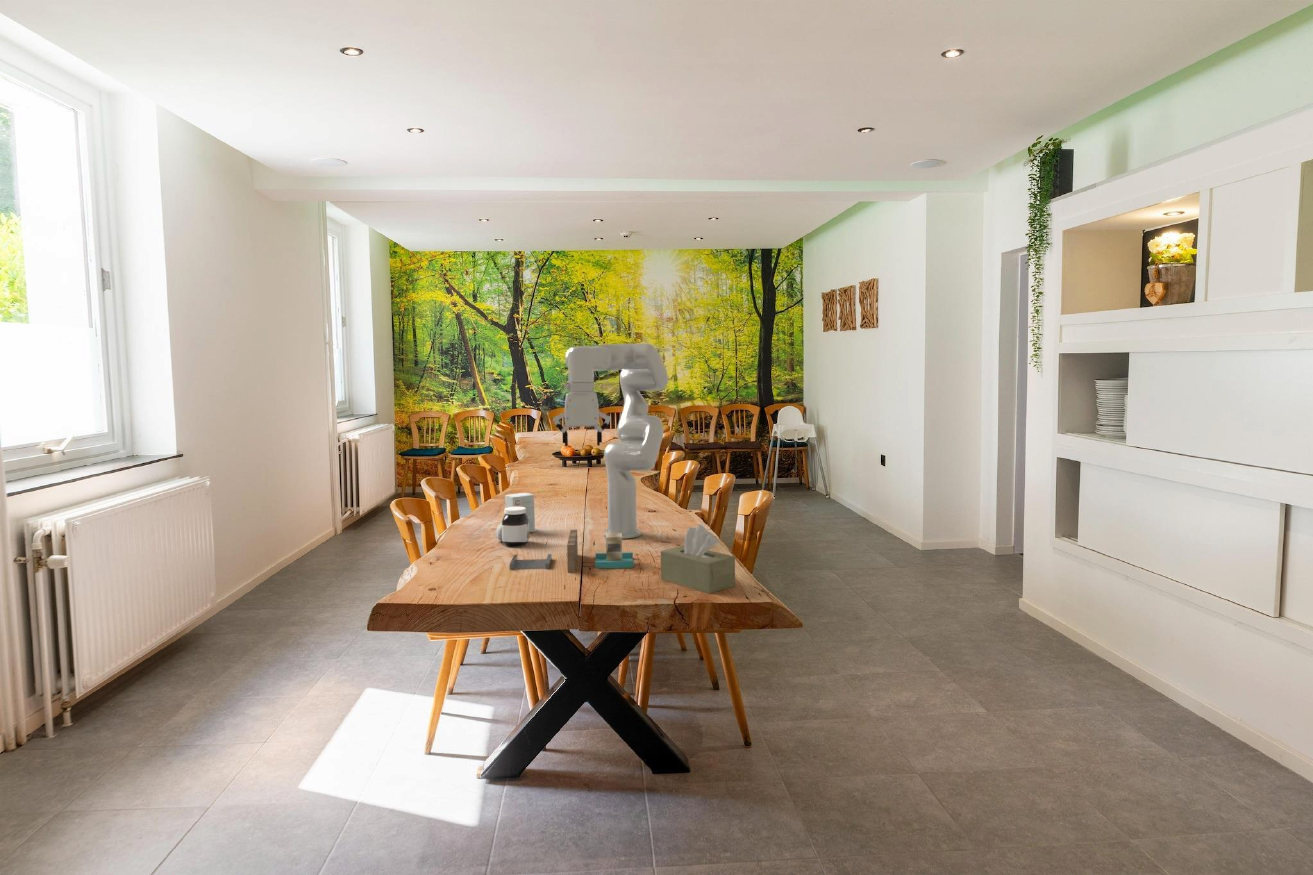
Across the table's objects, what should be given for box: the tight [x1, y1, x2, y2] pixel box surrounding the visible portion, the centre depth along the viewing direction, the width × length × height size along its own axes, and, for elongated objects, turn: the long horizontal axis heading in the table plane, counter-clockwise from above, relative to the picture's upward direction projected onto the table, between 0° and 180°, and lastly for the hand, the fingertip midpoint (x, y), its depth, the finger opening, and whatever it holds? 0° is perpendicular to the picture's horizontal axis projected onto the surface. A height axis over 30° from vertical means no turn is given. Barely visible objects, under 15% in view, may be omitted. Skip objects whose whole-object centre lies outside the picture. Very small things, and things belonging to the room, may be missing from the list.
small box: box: [504, 492, 536, 533], centre depth 280 cm, size 8×6×13 cm
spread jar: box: [494, 507, 530, 547], centre depth 263 cm, size 12×11×12 cm
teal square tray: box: [594, 551, 635, 569], centre depth 237 cm, size 11×11×2 cm
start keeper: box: [509, 553, 552, 571], centre depth 235 cm, size 11×11×2 cm
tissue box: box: [660, 523, 736, 594], centre depth 215 cm, size 19×10×16 cm, turn 43°
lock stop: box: [605, 533, 623, 561], centre depth 236 cm, size 4×7×8 cm
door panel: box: [566, 529, 579, 573], centre depth 236 cm, size 20×2×8 cm, turn 3°
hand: (582, 445), depth 245 cm, fingers open, 9 cm apart
